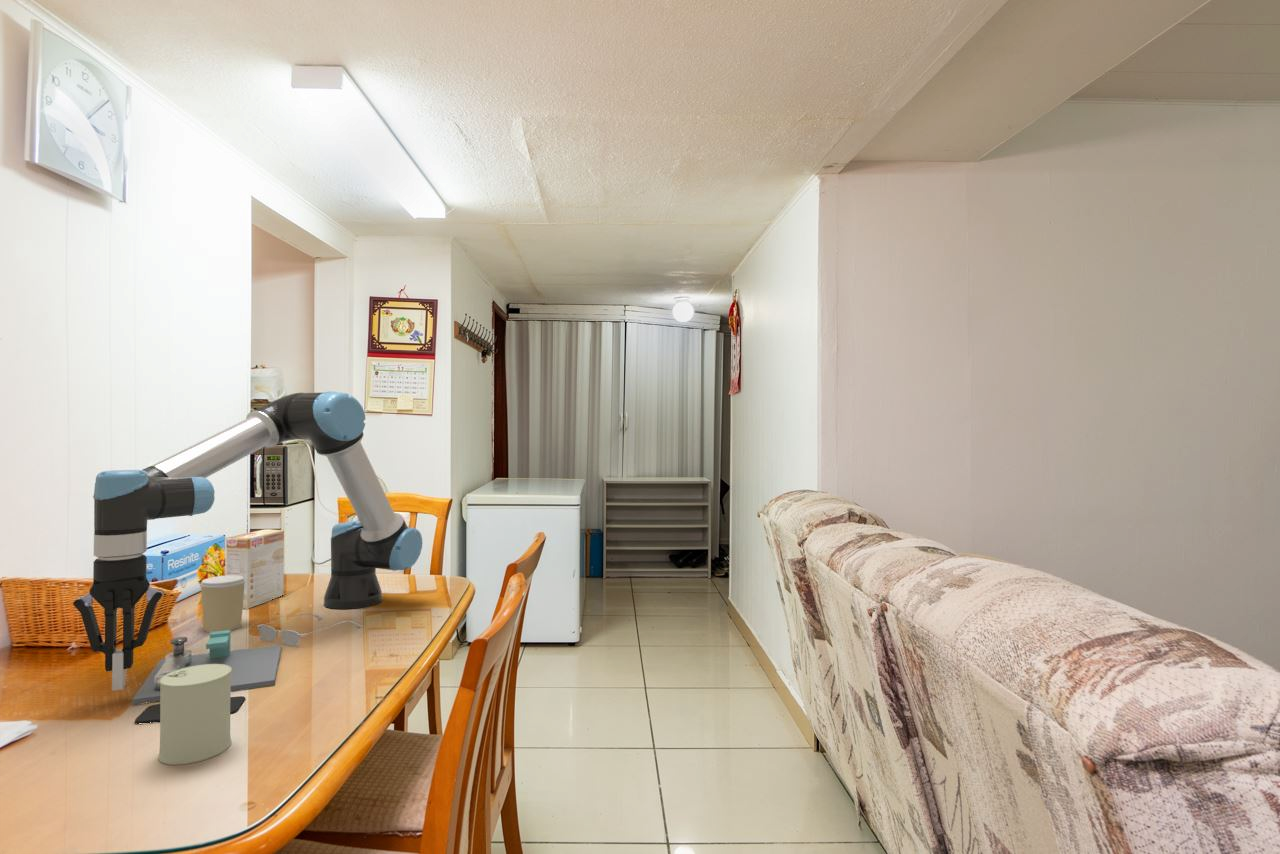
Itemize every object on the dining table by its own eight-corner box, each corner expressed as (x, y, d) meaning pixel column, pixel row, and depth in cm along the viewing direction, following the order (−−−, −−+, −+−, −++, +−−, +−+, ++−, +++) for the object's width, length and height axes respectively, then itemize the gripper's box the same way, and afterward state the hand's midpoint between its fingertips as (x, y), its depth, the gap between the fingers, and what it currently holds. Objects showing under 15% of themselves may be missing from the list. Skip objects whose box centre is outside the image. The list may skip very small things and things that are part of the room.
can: (182, 737, 105) (183, 661, 105) (243, 735, 105) (243, 659, 105) (143, 766, 95) (144, 683, 95) (210, 764, 96) (211, 681, 96)
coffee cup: (253, 623, 166) (253, 575, 166) (226, 634, 157) (227, 583, 157) (218, 621, 167) (219, 574, 167) (190, 632, 158) (190, 582, 158)
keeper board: (281, 649, 147) (281, 622, 147) (274, 685, 126) (274, 653, 126) (161, 663, 137) (161, 634, 137) (131, 705, 116) (132, 671, 116)
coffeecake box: (262, 595, 195) (263, 529, 195) (284, 596, 194) (285, 529, 194) (224, 608, 180) (225, 536, 180) (247, 609, 179) (248, 537, 179)
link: (167, 661, 134) (168, 637, 134) (193, 658, 136) (193, 634, 136) (148, 691, 119) (148, 663, 119) (177, 687, 121) (177, 659, 121)
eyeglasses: (255, 640, 154) (255, 623, 154) (321, 620, 170) (322, 605, 170) (300, 650, 148) (300, 632, 148) (365, 628, 164) (365, 612, 164)
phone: (235, 711, 113) (132, 722, 108) (235, 716, 113) (131, 727, 108) (247, 695, 120) (149, 704, 116) (246, 700, 120) (149, 709, 116)
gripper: (168, 549, 125) (166, 674, 125) (80, 555, 119) (78, 686, 119) (161, 556, 118) (159, 688, 118) (67, 562, 112) (65, 701, 112)
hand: (119, 687), depth 118 cm, fingers closed
